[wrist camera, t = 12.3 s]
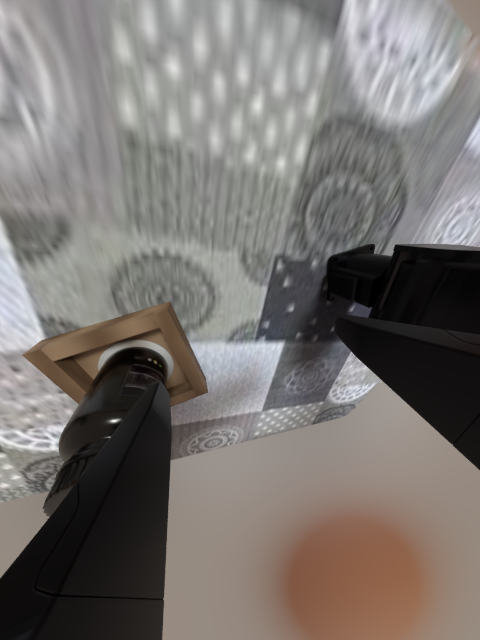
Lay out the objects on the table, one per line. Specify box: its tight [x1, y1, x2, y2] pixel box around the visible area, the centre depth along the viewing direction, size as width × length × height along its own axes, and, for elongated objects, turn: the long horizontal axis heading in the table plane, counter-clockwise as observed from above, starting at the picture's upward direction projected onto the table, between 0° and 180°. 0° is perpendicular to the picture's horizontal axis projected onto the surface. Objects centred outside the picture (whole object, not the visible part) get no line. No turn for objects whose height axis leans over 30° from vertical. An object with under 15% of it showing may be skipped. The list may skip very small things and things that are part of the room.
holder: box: [23, 302, 208, 407], centre depth 20 cm, size 13×13×2 cm
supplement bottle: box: [43, 347, 168, 517], centre depth 15 cm, size 7×7×12 cm
